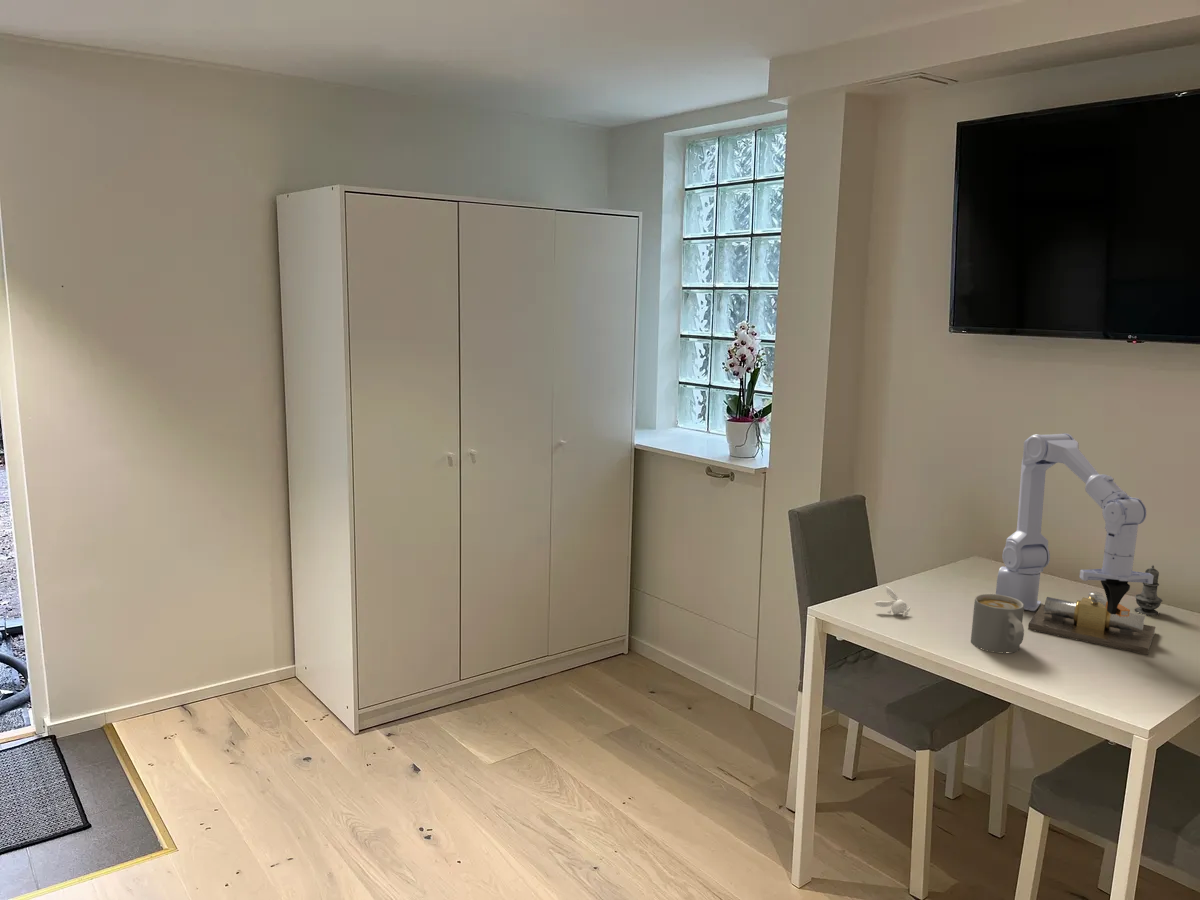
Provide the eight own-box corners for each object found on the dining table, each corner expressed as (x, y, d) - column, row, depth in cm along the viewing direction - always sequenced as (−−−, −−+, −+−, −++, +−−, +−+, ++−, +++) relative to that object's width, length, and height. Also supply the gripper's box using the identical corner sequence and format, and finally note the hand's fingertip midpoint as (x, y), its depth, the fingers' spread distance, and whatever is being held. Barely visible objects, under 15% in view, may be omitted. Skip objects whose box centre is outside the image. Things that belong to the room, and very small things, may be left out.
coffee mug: (963, 635, 209) (968, 593, 207) (1008, 636, 209) (1012, 594, 207) (987, 659, 196) (991, 614, 194) (1034, 660, 196) (1039, 615, 194)
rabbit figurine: (902, 620, 218) (873, 599, 221) (898, 627, 221) (870, 606, 224) (916, 603, 220) (887, 583, 224) (912, 610, 223) (884, 590, 227)
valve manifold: (1028, 629, 213) (1031, 597, 212) (1041, 610, 226) (1045, 580, 225) (1147, 654, 200) (1151, 621, 198) (1154, 632, 213) (1159, 601, 211)
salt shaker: (1164, 617, 223) (1171, 569, 221) (1138, 615, 224) (1144, 567, 222) (1155, 609, 229) (1161, 562, 226) (1129, 606, 230) (1135, 560, 228)
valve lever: (1085, 597, 213) (1086, 590, 213) (1097, 597, 213) (1098, 590, 213) (1118, 616, 201) (1118, 609, 200) (1130, 616, 201) (1131, 609, 201)
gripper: (1092, 556, 197) (1084, 617, 199) (1163, 560, 196) (1155, 620, 198) (1078, 547, 204) (1071, 606, 206) (1147, 550, 203) (1139, 609, 205)
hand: (1111, 612), depth 203 cm, fingers closed, pressing on valve lever
